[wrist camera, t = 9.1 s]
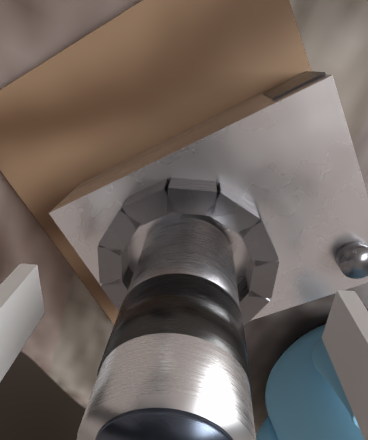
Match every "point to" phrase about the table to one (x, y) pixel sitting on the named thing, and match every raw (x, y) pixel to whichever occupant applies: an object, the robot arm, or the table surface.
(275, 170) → the camera body
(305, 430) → the teapot
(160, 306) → the lens
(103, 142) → the board
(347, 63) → the table surface
